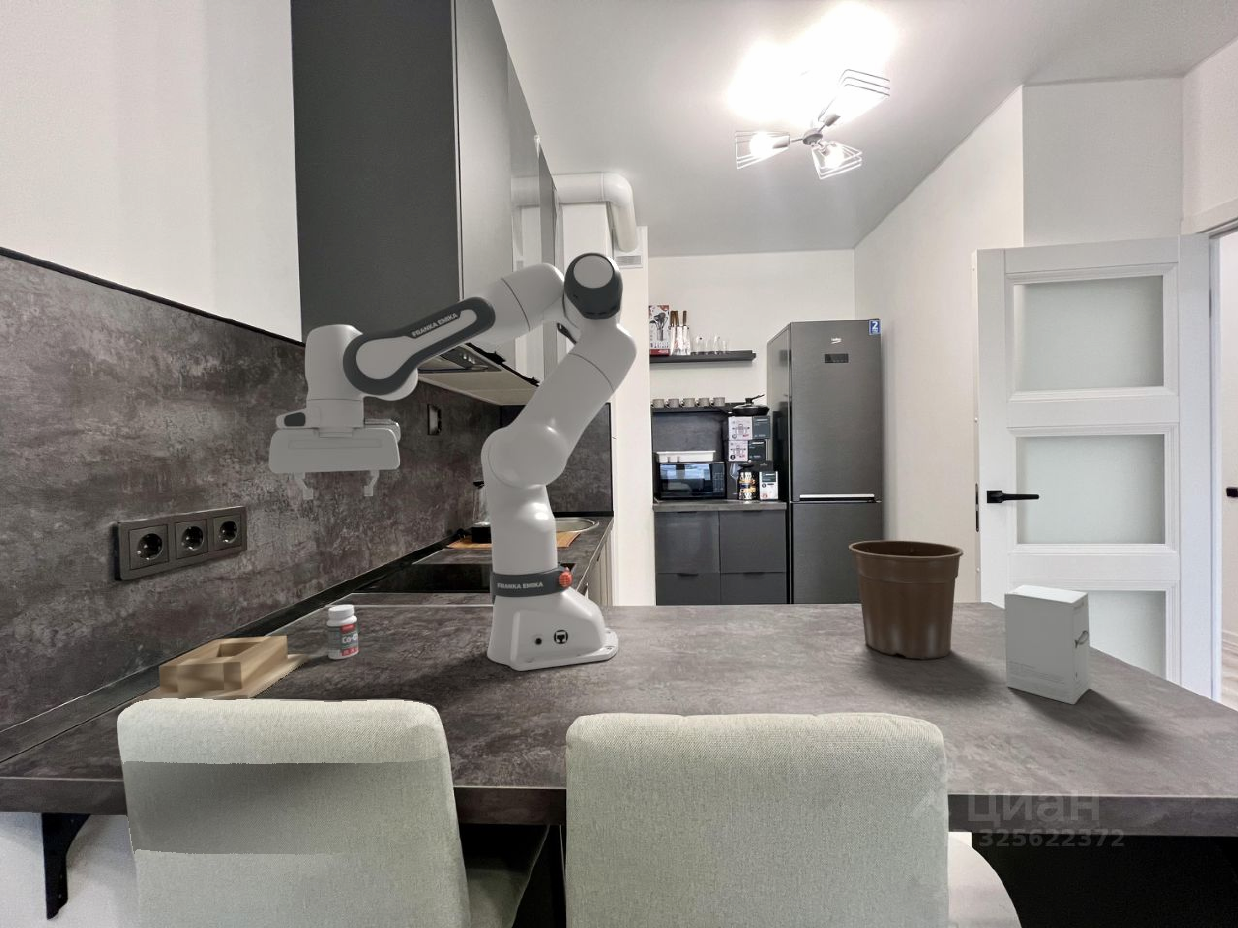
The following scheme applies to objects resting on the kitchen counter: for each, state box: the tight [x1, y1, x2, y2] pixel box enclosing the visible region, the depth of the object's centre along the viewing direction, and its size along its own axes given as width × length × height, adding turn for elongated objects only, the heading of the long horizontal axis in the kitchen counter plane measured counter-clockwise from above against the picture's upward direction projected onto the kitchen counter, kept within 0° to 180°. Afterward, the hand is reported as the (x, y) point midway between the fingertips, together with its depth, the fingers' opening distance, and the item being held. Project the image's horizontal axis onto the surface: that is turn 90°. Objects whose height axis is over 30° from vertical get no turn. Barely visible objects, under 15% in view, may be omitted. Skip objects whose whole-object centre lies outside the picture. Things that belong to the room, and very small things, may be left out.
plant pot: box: [848, 540, 964, 660], centre depth 87 cm, size 16×16×16 cm
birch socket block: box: [131, 635, 309, 705], centre depth 84 cm, size 16×16×5 cm
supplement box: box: [1003, 584, 1092, 705], centre depth 70 cm, size 7×7×13 cm
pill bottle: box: [326, 604, 359, 660], centre depth 95 cm, size 5×5×8 cm
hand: (339, 497), depth 94 cm, fingers open, 8 cm apart
